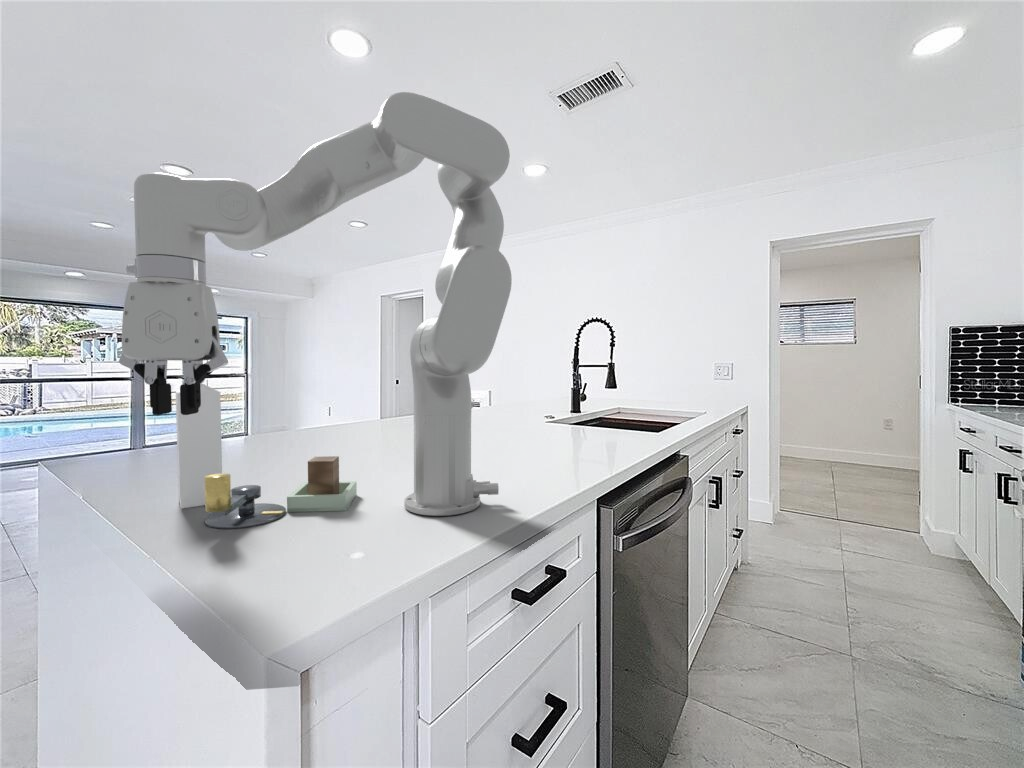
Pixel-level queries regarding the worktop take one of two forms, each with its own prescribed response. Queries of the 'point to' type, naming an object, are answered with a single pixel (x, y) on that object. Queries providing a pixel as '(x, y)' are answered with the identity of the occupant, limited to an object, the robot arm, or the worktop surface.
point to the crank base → (247, 516)
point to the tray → (321, 499)
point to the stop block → (323, 475)
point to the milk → (198, 447)
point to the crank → (226, 494)
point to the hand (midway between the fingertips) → (176, 412)
